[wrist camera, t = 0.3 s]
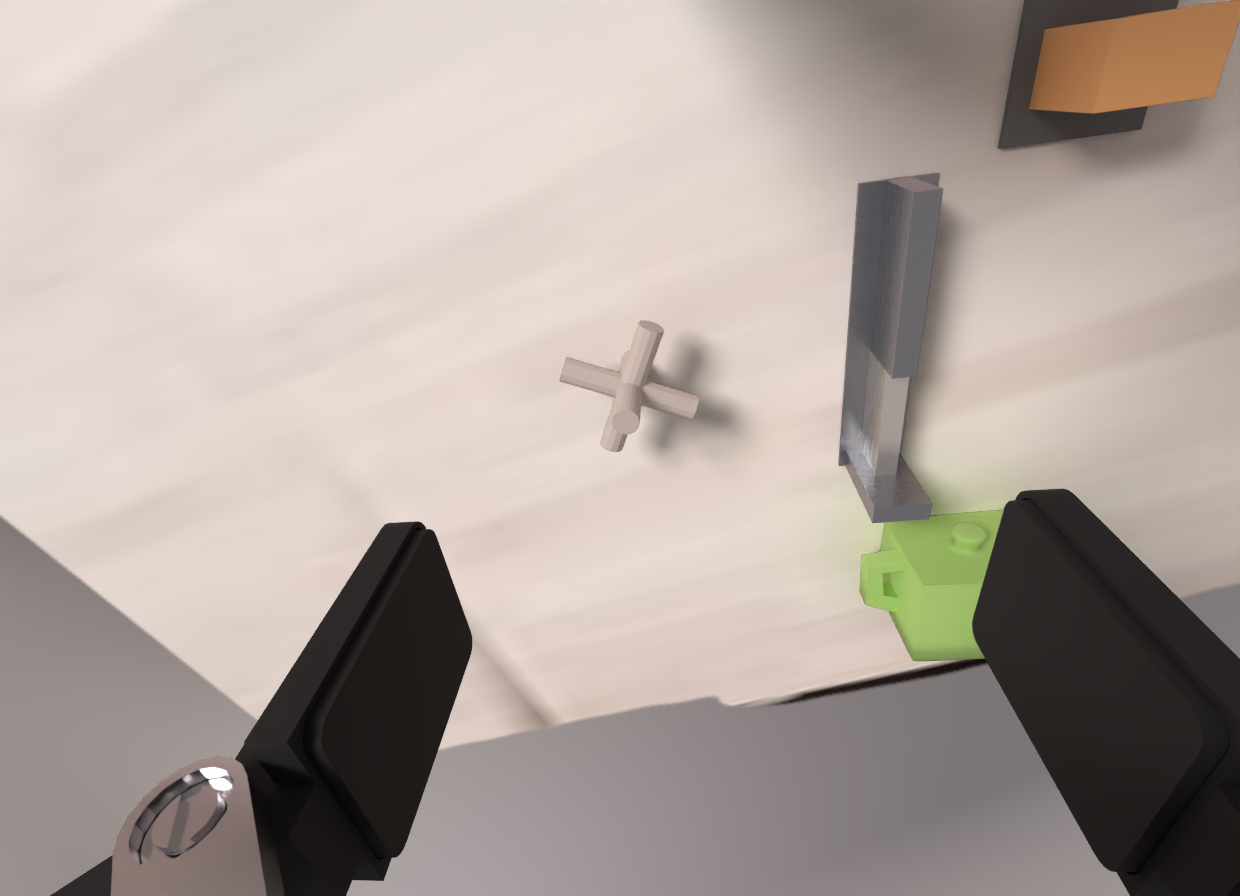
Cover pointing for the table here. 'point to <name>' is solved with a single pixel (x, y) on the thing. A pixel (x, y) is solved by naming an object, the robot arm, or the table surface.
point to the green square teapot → (932, 581)
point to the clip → (1135, 59)
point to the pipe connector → (630, 387)
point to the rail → (887, 339)
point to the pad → (1044, 8)
